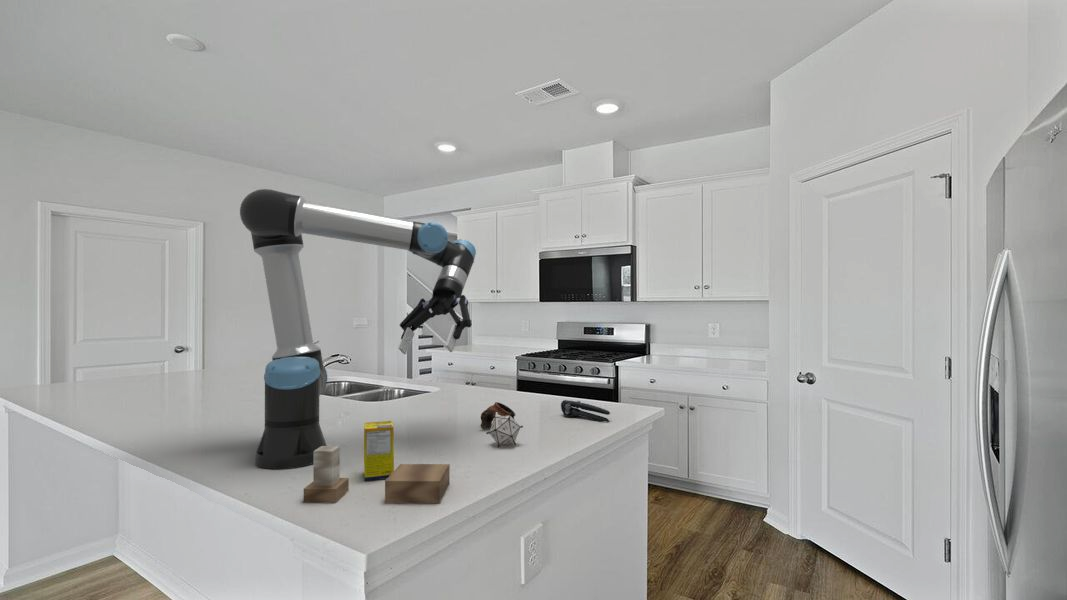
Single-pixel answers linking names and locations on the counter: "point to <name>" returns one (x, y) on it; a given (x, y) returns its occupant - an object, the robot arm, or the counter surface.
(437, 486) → the plinth
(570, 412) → the can opener
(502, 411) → the brown curved piece
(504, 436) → the game die
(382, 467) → the supplement box
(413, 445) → the counter surface
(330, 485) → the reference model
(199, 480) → the counter surface
